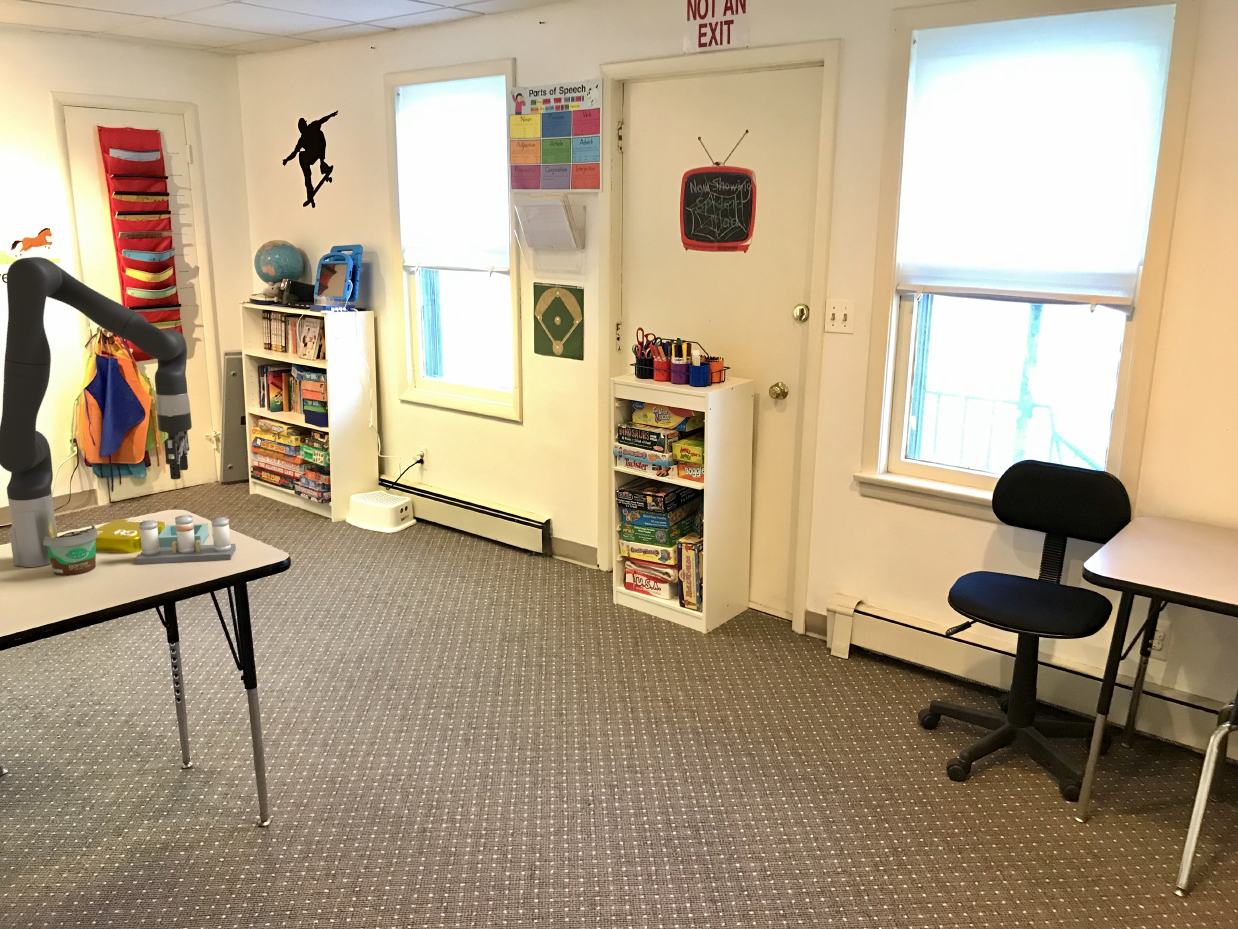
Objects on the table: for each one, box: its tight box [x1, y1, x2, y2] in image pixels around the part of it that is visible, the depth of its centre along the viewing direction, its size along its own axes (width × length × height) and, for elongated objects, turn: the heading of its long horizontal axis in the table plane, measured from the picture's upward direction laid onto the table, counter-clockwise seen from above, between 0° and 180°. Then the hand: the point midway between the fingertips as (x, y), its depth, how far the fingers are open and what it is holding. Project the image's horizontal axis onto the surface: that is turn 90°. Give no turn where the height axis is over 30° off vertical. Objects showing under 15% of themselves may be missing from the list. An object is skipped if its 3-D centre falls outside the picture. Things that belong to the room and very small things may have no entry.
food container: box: [43, 524, 98, 577], centre depth 227 cm, size 12×6×10 cm, turn 147°
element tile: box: [95, 518, 166, 554], centre depth 249 cm, size 15×15×5 cm
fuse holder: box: [136, 516, 237, 565], centre depth 239 cm, size 22×8×10 cm, turn 103°
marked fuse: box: [174, 514, 196, 554], centre depth 239 cm, size 4×4×9 cm
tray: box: [158, 523, 210, 547], centre depth 250 cm, size 10×10×4 cm
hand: (179, 474), depth 235 cm, fingers open, 8 cm apart
